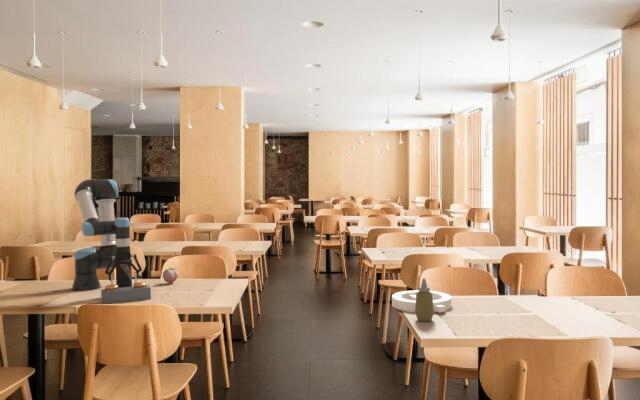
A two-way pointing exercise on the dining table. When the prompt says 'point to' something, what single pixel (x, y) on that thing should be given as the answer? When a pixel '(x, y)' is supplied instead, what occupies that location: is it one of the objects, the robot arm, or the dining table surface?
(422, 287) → the squeeze bottle
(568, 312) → the dining table surface
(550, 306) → the dining table surface
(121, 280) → the container
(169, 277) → the decorative fruit
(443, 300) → the ring with crossbar
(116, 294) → the grey block stand
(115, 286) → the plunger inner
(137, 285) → the gold lidded jar
